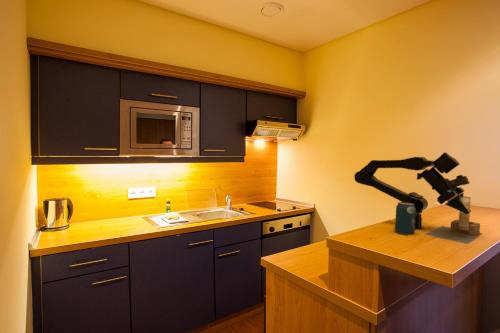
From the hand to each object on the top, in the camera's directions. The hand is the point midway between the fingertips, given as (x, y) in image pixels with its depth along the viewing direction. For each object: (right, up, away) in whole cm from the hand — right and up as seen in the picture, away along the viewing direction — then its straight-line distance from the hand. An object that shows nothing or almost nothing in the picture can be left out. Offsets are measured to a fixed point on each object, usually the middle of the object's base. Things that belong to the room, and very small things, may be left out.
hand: (469, 212), depth 109 cm
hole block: (+5, -9, +8) cm, 13 cm away
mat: (-2, -10, +5) cm, 11 cm away
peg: (-1, -7, +1) cm, 7 cm away
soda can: (-21, -9, +6) cm, 24 cm away
